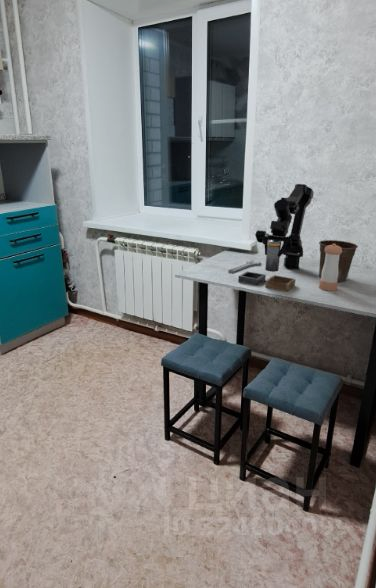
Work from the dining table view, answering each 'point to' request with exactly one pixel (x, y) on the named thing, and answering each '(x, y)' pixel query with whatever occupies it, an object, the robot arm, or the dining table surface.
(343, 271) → the plant pot
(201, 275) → the dining table surface
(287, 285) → the wooden square frame
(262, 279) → the socket block
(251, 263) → the adjustable wrench
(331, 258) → the pepper shaker
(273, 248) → the brass-banded metal cylinder
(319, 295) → the dining table surface
